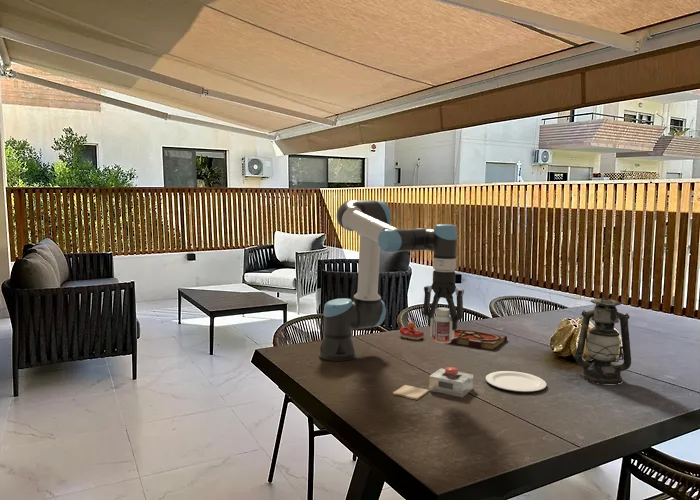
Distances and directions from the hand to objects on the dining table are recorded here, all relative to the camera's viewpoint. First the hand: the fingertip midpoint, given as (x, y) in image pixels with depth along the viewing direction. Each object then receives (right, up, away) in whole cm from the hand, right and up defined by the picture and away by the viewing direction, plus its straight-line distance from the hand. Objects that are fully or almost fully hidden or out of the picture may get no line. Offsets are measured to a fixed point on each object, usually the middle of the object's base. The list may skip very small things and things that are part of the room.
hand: (441, 337), depth 177 cm
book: (+25, -13, +66) cm, 72 cm away
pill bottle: (0, -2, 0) cm, 2 cm away
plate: (+28, -19, +9) cm, 35 cm away
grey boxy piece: (+4, -18, +2) cm, 19 cm away
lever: (+4, -17, +2) cm, 18 cm away
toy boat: (-2, -12, +70) cm, 71 cm away
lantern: (+61, -18, +13) cm, 65 cm away
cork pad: (-11, -19, -1) cm, 22 cm away
